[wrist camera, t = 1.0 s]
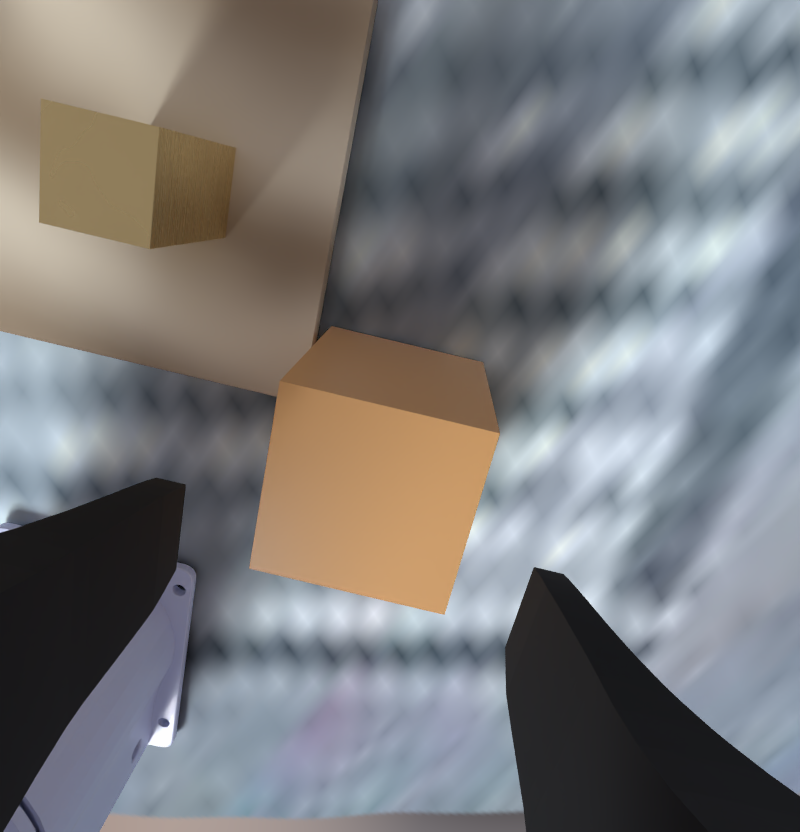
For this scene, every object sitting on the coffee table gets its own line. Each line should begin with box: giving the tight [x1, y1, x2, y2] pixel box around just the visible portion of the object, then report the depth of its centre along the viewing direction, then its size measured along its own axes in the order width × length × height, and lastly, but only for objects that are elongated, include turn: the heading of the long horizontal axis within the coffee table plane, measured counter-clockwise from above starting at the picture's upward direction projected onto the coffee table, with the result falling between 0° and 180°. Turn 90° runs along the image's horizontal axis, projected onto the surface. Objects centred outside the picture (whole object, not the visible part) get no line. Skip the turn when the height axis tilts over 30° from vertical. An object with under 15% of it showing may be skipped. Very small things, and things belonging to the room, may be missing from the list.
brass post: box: [39, 99, 236, 249], centre depth 16 cm, size 3×3×5 cm
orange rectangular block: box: [249, 326, 500, 614], centre depth 18 cm, size 5×5×7 cm
